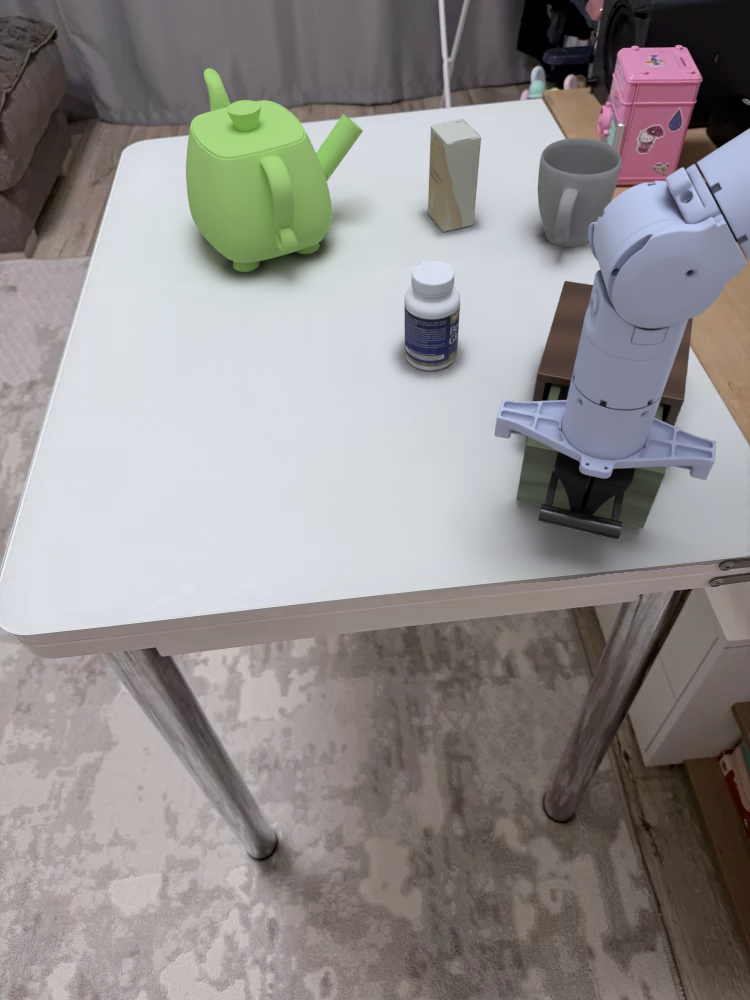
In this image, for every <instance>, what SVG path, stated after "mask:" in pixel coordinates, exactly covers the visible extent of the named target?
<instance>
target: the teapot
mask: <svg viewBox="0 0 750 1000" xmlns="http://www.w3.org/2000/svg"><path fill="white" fill-rule="evenodd" d="M203 78H204V79H203V80H204V82H205V85H206V88H207V93H208V99H209V109H210V111H207V112H204V113H201V114H198V115H196V116H195V117H194V118H193V119H192V120H191V122H190V126H189V131H188V138H187V139H188V140H187V148H186V160H185V181H186V193H187V202H188V206H189V211H190V215H191V218H192V220H193V222H194V224H195V226H196V228H197V230H198V231H199V232H200V234H201V236H203V238H205V240H206V241H207V242H208V243H209V244H210V245H211V246H212V247H213V248H214V249H215V250H216V251H217V252H218V253H219V254H221V255H222V256H223V257H225V258H226V259H228V260H230V261H232V267H233V270H235V271H237V272H241V273H247V272H252V271H254V270H256V269H257V268H258V267H259V266H260V262H262V261H267V260H270V259H274V258H278V257H282V256H286V255H289V254H293V253H295V252H296V253H298V254H301V255H310V254H313V253H316V252H317V251H318V250H319V249H320V246H321V245H320V242H322V241H323V240H324V239H325V237H326V235H327V233H328V231H329V229H330V227H331V223H332V219H333V207H332V206H333V205H332V199H331V193H330V189H329V184H328V180H329V179H330V178H331V177H332V175H333V174H334V173H335V171H336V170H337V168H338V167H339V165H340V164H341V162H343V160H344V159H345V157H346V156H347V154H348V153H349V151H350V150H351V148H352V147H353V145H355V143H356V142H357V140H358V139H359V137H360V136H361V135H362V133H363V132H364V129H363V128H362V127H361V126H360V125H359V124H357V122H355V121H354V120H353V119H351V118H350V117H349V116H348V115H346V114H344V113H342V114H341V116H340V117H339V118H338V121H337V122H336V123H335V125H334V127H332V129H331V130H330V132H329V134H328V135H327V137H325V139H324V141H323V143H322V144H321V146H320V147H319V149H318V150H317V152H316V150H315V148H314V145H313V143H312V141H311V139H310V137H309V135H308V133H307V132H306V129H305V128H304V126H303V124H302V123H301V122H300V120H299V118H297V116H296V115H294V114H293V112H292V111H290V110H289V109H287V108H286V107H285V106H283V105H281V104H279V103H277V102H274V101H272V100H266V99H263V100H252V99H251V100H250V99H241V100H237V101H234V102H232V103H231V100H230V99H229V97H228V94H227V91H226V89H225V86H224V83H223V81H222V78H221V75H219V73H218V72H217V71H216V70H215V69H213V68H211V67H210V68H209V67H207V68H206V69H204V71H203Z"/></svg>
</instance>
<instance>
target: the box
mask: <svg viewBox="0 0 750 1000" xmlns="http://www.w3.org/2000/svg"><path fill="white" fill-rule="evenodd" d="M429 138H430V139H429V141H430V142H429V164H428V165H429V170H428V196H427V197H428V198H427V214H428V215H429V217H430V218H431V219H432V221H434V223H435V224H436V226H438V228H439V229H440V230H441V231H442V232H443V233H446V232H450V231H455V230H460V229H462V228H466V227H467V228H468V227H471V226H474V224H475V212H476V202H477V201H476V200H477V191H478V180H479V179H478V177H479V166H480V157H481V156H480V154H481V144H482V136H481V134H480V133H478V132H477V131H476V129H474V128H473V126H471V125H470V124H469V123H468V122H467V121H466V120H465V119H464V118H460V119H454V120H451V121H445V122H439V123H436V124H432V125H430V137H429Z"/></svg>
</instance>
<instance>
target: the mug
mask: <svg viewBox="0 0 750 1000" xmlns="http://www.w3.org/2000/svg"><path fill="white" fill-rule="evenodd" d="M539 159H540V160H539V166H538V174H537V175H538V177H537V178H538V179H537V202H538V203H537V204H538V211H539V216H540V219H541V222H542V223H541V224H542V226H543V229H544V235H545V239H546V240H547V241H548V242H549V243H551V244H553V245H556V246H557V247H562V248H576V247H580V246H581V247H582V246H583V245H585V244H587V243H588V242H589V237H588V232H589V225H590V224H591V223H592V222H597V220H598V218H599V216H600V217H602V216H603V214H604V209H605V207H606V206H607V205H608V204H609V203H610V202H611V201H612V200H613V197H614V194H615V191H616V188H617V184H618V182H619V181H618V180H619V177H620V172H621V169H622V161H623V159H622V156H621V153H620V152H619V150H618V149H617V148H615V147H614V146H613V145H610V144H609V143H606V142H605V141H601V140H597V139H593V138H586V137H584V138H583V137H569V138H564V139H560V140H556V141H554V142H552V143H550V144H548V145H547V146H545V148H544V149H543V150H542V152H541V155H540V158H539Z"/></svg>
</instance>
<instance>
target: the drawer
mask: <svg viewBox="0 0 750 1000" xmlns="http://www.w3.org/2000/svg"><path fill="white" fill-rule="evenodd" d="M569 388H570V387H569V386H564V385H559V384H553V383H552V385H551V389H550V393H549V396H548V400H547V401H555V400H567V397H568V392H569ZM663 407H664V404H661V403H659V406H658V409H657V412H656V414H655V417H654V418H656V419H659V420H661V421H662V414H663ZM525 443H526V445H525V444H524V445H525V446H524V451H523V457H522V463H521V470H520V475H519V481H518V487H517V493H516V499H515V500H516V501H517V502H522V503H526V504H531V505H534V506H539V507H540V508H539V513H538V516H537V522H538V523H542V524H547V525H551V526H555V527H559V528H564V529H568V530H572V531H577V532H582V533H585V534H586V533H587V534H589V535H595V536H598V537H604V538H607V539H611V540H616V541H618V540H619V539H620V537H621V534H622V530H623V525H624V526H629V527H632V528H638V529H642V530H643V529H644V528H645V525H646V523H647V521H648V518H649V515H650V513H651V510H652V508H653V506H654V502H655V500H656V497H657V495H658V493H659V490H660V488H661V485H662V483H663V481H664V478H665V475H666V471H667V470H666V469H667V466H665V467H642V468H635V472H634V478H633V481H632V483H631V485H630V486H629V487H628V489H627V490H626V491H624V492H621V493H619V494H617V495H615V496H613V497H612V498H610V499H609V500H607V501H606V502H605V503H604V504H603V505H602V506H601V507H600V508H599V509H598V510H597V511H596V512H595V513H594V514H593V515H591V514H586V513H582V512H577V511H573V510H570V506H569V501H568V497H567V493H566V491H565V488H564V486H563V485H562V483H561V481H560V480H559V478H558V477H557V476H556V471H555V462H556V458H557V454H558V451H557V450H555V449H553V448H551V447H549V446H547V445H545V444H543V443H541V442H539V441H537V440H535V439H533V438H531V437H528V438H527V442H526V441H525ZM591 477H592V476H589V480H588V484H589V482H590V479H591ZM588 484H587V486H586V489H587V487H588ZM585 492H586V490H585Z"/></svg>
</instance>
